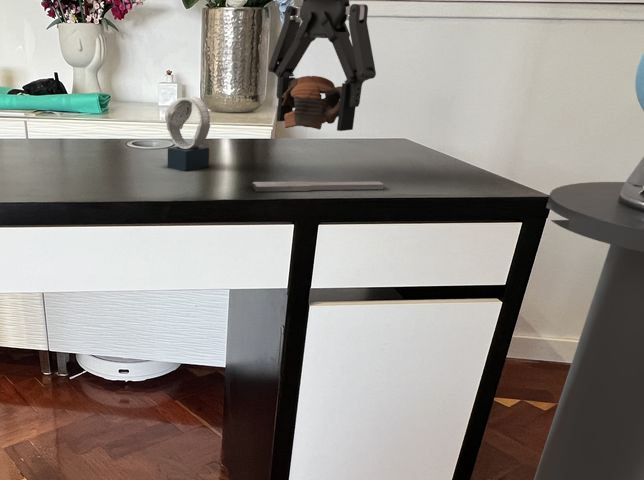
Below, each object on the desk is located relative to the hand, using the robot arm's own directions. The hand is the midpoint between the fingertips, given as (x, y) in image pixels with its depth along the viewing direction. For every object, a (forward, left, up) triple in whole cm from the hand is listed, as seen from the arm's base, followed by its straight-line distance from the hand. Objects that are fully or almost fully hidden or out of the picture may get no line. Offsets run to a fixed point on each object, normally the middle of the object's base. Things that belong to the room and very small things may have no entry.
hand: (313, 125), depth 100 cm
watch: (+16, +13, -8) cm, 22 cm away
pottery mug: (0, 0, 0) cm, 0 cm away
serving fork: (-9, +7, -7) cm, 13 cm away
